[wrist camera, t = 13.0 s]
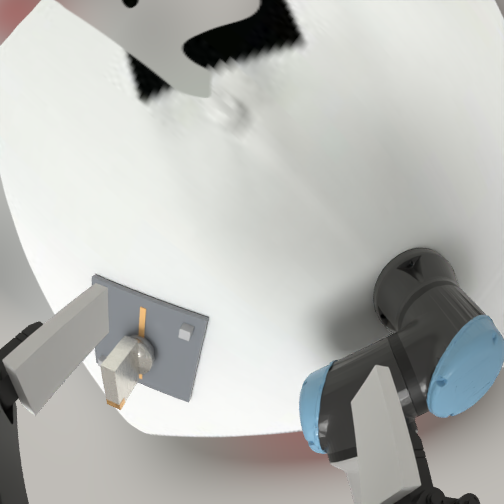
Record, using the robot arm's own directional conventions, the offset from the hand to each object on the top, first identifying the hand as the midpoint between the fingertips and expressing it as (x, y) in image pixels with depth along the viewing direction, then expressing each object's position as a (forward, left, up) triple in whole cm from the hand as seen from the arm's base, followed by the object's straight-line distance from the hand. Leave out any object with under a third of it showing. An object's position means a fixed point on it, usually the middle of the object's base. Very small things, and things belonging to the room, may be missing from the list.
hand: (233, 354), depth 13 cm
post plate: (+18, +33, -32) cm, 49 cm away
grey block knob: (+18, +33, -28) cm, 47 cm away
